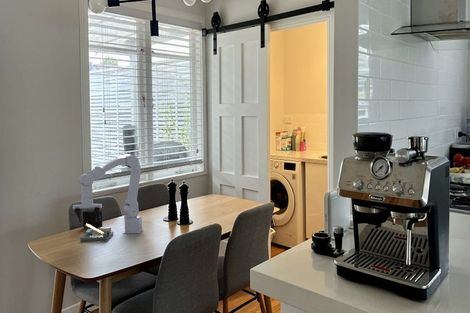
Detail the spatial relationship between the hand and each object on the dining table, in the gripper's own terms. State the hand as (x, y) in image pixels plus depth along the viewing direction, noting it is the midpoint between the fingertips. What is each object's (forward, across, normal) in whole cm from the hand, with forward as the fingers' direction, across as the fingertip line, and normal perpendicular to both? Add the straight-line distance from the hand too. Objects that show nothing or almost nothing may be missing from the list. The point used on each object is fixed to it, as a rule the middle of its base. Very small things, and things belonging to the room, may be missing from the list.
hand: (88, 221), depth 215 cm
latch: (+8, +1, -4) cm, 9 cm away
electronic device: (+10, +3, -24) cm, 26 cm away
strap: (+5, -4, +1) cm, 6 cm away
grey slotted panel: (+10, -4, -2) cm, 11 cm away
